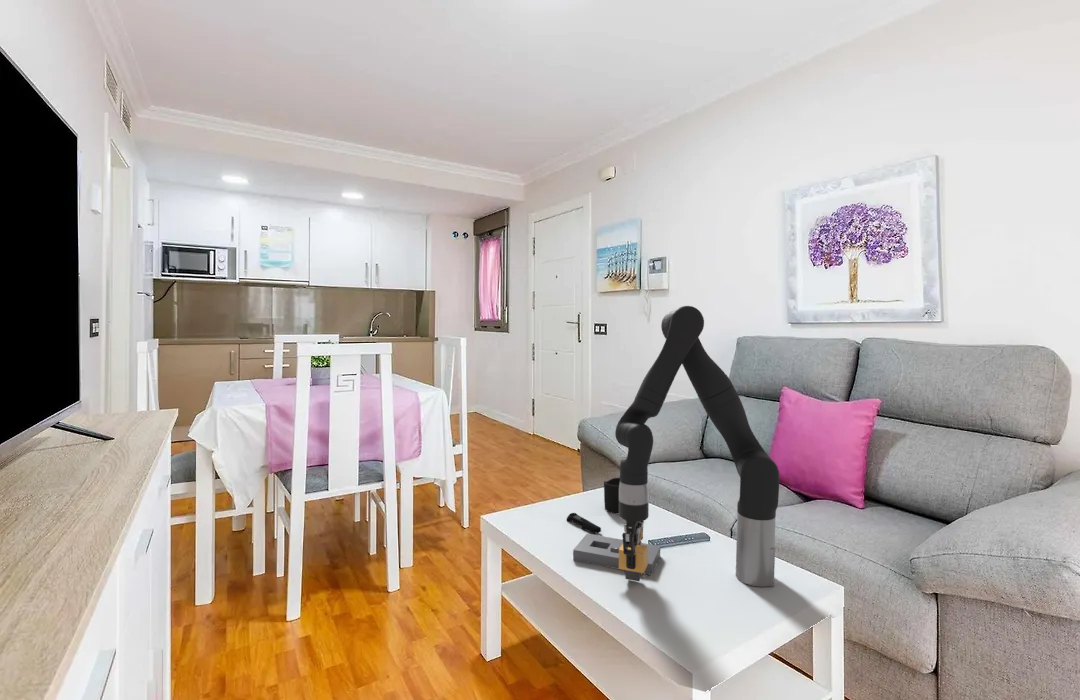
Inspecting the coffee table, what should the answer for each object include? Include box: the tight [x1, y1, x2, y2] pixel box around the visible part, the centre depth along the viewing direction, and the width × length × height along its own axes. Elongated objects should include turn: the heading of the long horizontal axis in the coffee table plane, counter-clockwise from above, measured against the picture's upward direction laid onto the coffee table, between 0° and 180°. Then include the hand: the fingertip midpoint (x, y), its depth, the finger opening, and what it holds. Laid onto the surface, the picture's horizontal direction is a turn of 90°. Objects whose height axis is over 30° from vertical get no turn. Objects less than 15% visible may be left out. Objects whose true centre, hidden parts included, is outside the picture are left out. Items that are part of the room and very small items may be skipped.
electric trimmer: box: [566, 512, 602, 534], centre depth 170 cm, size 4×16×3 cm, turn 33°
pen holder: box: [603, 477, 620, 514], centre depth 186 cm, size 9×9×10 cm
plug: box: [611, 544, 648, 582], centre depth 135 cm, size 9×5×8 cm, turn 67°
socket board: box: [572, 533, 661, 576], centre depth 148 cm, size 22×12×4 cm, turn 67°
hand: (633, 563), depth 135 cm, fingers closed on plug, 5 cm apart
